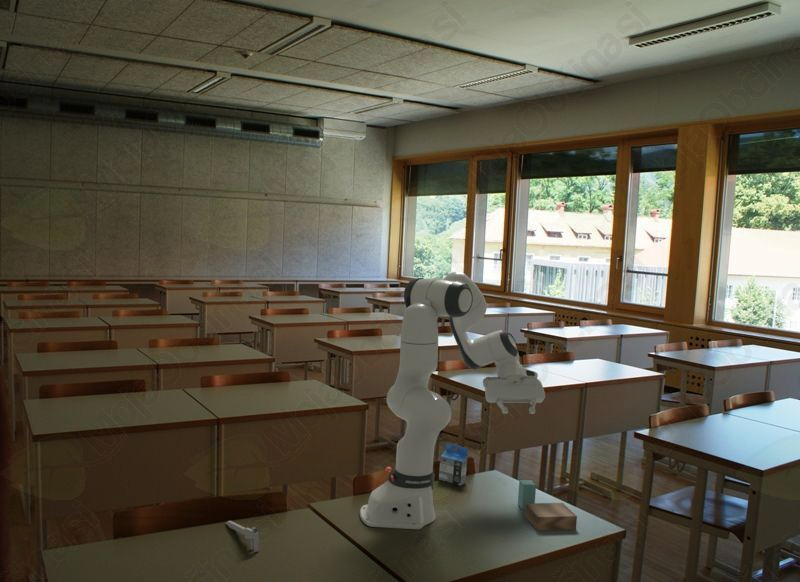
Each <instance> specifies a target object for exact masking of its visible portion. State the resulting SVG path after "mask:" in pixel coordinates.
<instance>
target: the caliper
mask: <svg viewBox="0 0 800 582" xmlns="http://www.w3.org/2000/svg"><path fill="white" fill-rule="evenodd" d="M225 524H226V525H227V526H228V527H229V528H230V529H232V530H234V531H235V532H237V533H240V534H241V535H243V536H244V540H245V539H246V540H249V543H250V549H251V551H253V552H254V553H258V552H259V551H260V550H259V549H260V548H259V547H260V538H259V537H260V536H259V532H258V527H256V526H253V527H251V528H250V527H245V526H243V525H241V524H238V523H236V522H235V521H233V520H227V522H225Z"/></svg>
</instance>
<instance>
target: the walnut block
mask: <svg viewBox="0 0 800 582" xmlns="http://www.w3.org/2000/svg"><path fill="white" fill-rule="evenodd" d="M524 513H525V514H524V517H525V518H526V519H527V521H528V522H529V523H530V522H531V523H530V524H531V525H532V526H533V527H534V528H535V529H536V531H563V530H565V531H566V530H567V531H568V530H569V529H570V530H571V531H572V530H577V521H578V515H576V514H575V513H574V512H573V511H572V510H571V509H570V508H569V507H568V506H567V505H566V504H565V503H563V502H542V503H541V502H535V503H530V504H526V509H525V512H524Z"/></svg>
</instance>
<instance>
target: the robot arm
mask: <svg viewBox="0 0 800 582" xmlns="http://www.w3.org/2000/svg"><path fill="white" fill-rule="evenodd" d="M403 291H404V292H403V302H404V305H405V310H404V313H403V316H402V322H401V328H400V330H401V331H400V344H399V345H400V349H399V350H400V351H399V353H400V354H399V356H400V357H399V368H398V371H397V376H396V379H395V381H394V384H393V385H392V386H391V387H390V388H389V390H388V391H387V394H386V405H387V406H388V408H389V410H391V412H392V413H393V414H394V415H395V416H396V417H398V418H400V419H402V420H403V421H405V422H406V428H405V432H404V436H403V437H401V438H400V439H399V440H398V442H397V444H396V458H395V467H394V468H393V469H392V467H391V466H386V468H385V470H384V471H385V474H386V475H387V476H388V477H387V479H388V480H386V481H385V482H383V484H381V485H380V486H378V487H376V488H374V489H373V490H372V491H371V493H370V495H369V498H368V502H367V504H364V505H362V506H361V508H360V510H359V516H360V519H361V521H362V522H363V523H364V524H365V525H366V526H368V527H372V528H373V527H374V528H387V529H389V528H392V529H406V530H408V529H409V530H421V529H422V528H423V527H424V526H426V525H429V524H431V523H433V522H434V521H435V520H436V517H437V516H436V513H435V508H434V507H435V506H434V501H433V500H434V497H433V489H434V485H435V470H434V460H435V459H434V457H435V455H434V454H435V447H436V443H437V440H438V437H439V434H440V433H441V431H442V430H444V429H446V427H447V426H448V425H449V423H450V420H451V418H452V407H451V405H450V403H449V402H448V401H447V400H446V399H445V398H443V397H442V396H441V395H440V394H438V393H437V392H434V391H432V390H430V389H429V381H430V378H431V376H432V374H433V373H435V371H436V370H437V369H438V365H439V363H438V360H439V325H438V320H439V317H449V321H448V322H449V325H450V326H449V327H450V329H451V331H452V335H453V338H454V340H455V342H456V345H457V347H458V349H459V350H458V351H459V352H460V355H461V359H462V361H463V363H464V365H465V366H466V367H467V368H469V369H471V370H475V371H476V370H478V369H481V368H483V367H486V366H487V365H491V364H493V363H494V364H495V366H496V376H486V377H484V378H483V380H482V385H483V388H484V395H485V396H484V397H485V400H486V401H487V403H489V404H491V403H493V404H495V403H496V404H497V407H499V408H500V410H501V412H502V415H503V414H504V415H506V414H508V413H509V408H508V406H505V404H507V403H508V404H515V403H516V404H530V407H529V408H528V412H529V414H531V415H532V414H533V415H534V414H535V413H536V404H542V403H543V402H544V400H545V398H546V392H545V389H544V386H543V384H542V382H541V380H540V379H538V377H539V375H538V374H539V373H538V372H536V371H534V370H531V369H527V368H524V367H522V364H521V363H520V355H519V349H518V348H519V347H518V345H517V341H516V339H515V337H514V336H513V335H512V333H510V332H508V331H506V330H503V329H500V330H495V331H492V332H490V333H487V334H485V335H482V336H479V337H478V338H474V339H470V338H469V337H468V333H467V332H468V331H469V330H470V329H471V328H473V327H474V326H476V325H477V324H479V323H480V322H481V321H482V319H484V316H485V315H486V313H487V308H488V307H487V305H488V303H487V302H486V299H485V296H484V294H483V293H482V291H481V290H480V289H479V287H478V285H477V284H476V283H475V282H474V281H473V280H472V278H470V277H469V276H468V275H467V274H466V273H464V272H462V271H454V272H450V273H448V274H447V275H446V276H445V277H444V278H443V279H442V278H436V277H435V278H434V277H433V278H432V277H431V278H424V277H416V278H414V279H411V280H410V281H408V283H407V284H406V286H405V287H404V290H403Z"/></svg>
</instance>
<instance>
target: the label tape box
mask: <svg viewBox="0 0 800 582" xmlns="http://www.w3.org/2000/svg"><path fill="white" fill-rule="evenodd" d="M445 445H446V446H445V450H444V452H443V453H442V454H441V455H440V460H439V469H438V470H439V472H438V480H439V481H443V482H446V481H447V483H450V484H453V485H457V486H464V485H465V484H466V483H467V482H466V481H467V467H468V448H466V447H463V446H459V445H455V444H451V443H448V442H447V443H445ZM456 449H457V450H456ZM443 460H446V461H443Z"/></svg>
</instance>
